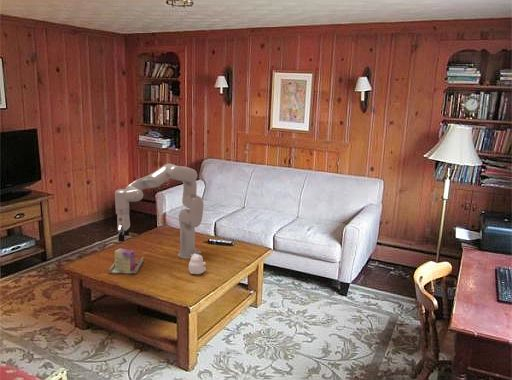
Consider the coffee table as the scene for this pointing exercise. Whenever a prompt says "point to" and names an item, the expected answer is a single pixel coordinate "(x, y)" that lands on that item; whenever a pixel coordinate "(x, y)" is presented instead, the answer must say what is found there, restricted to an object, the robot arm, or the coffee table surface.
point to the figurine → (196, 264)
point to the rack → (137, 266)
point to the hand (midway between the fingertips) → (124, 238)
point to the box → (125, 260)
